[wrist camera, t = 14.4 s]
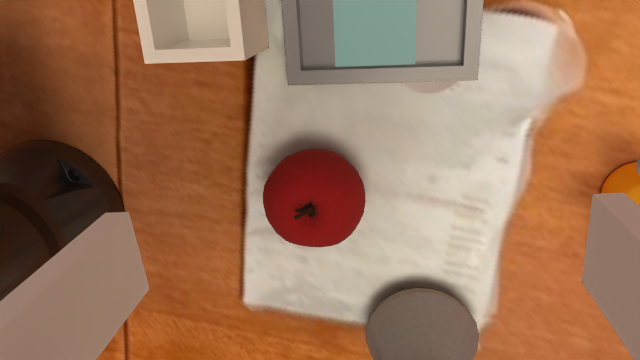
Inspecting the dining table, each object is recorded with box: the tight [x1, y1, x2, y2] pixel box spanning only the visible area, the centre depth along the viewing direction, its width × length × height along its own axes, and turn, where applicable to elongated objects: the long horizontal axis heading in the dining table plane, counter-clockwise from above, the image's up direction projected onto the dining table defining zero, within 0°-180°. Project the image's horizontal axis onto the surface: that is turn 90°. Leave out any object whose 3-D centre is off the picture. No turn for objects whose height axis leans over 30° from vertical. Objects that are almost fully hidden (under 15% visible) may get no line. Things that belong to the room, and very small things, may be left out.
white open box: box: [133, 0, 269, 64], centre depth 39 cm, size 8×8×8 cm
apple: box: [263, 149, 365, 247], centre depth 43 cm, size 9×9×10 cm
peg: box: [333, 0, 416, 67], centre depth 32 cm, size 4×4×18 cm
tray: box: [282, 0, 483, 85], centre depth 40 cm, size 16×12×2 cm
